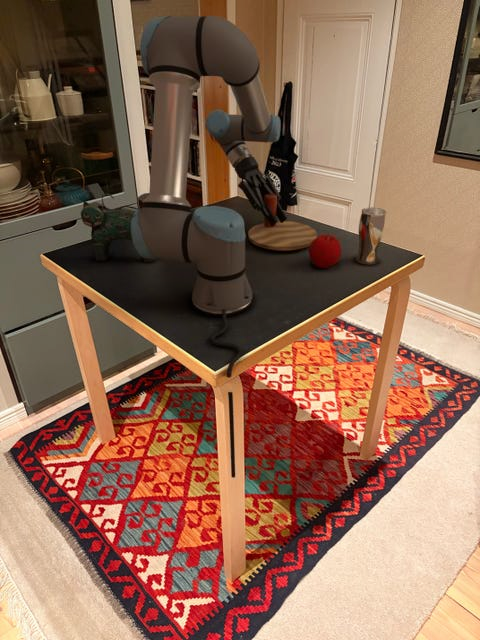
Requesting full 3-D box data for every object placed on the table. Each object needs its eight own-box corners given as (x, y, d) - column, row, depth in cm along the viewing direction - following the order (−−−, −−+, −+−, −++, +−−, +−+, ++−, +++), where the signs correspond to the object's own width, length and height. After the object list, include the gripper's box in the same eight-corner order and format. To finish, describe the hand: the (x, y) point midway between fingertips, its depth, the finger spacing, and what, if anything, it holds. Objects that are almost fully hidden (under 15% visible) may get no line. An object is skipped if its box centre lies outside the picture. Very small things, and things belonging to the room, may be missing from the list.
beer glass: (365, 253, 141) (372, 205, 133) (383, 261, 136) (392, 211, 128) (349, 259, 138) (355, 210, 130) (367, 267, 133) (375, 217, 125)
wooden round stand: (330, 242, 146) (333, 207, 140) (269, 255, 138) (270, 219, 132) (293, 220, 162) (294, 188, 156) (236, 231, 154) (236, 198, 148)
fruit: (335, 274, 130) (338, 240, 124) (304, 268, 133) (306, 235, 128) (343, 261, 137) (346, 228, 132) (313, 256, 140) (316, 224, 135)
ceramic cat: (89, 262, 139) (75, 195, 128) (97, 253, 144) (84, 189, 133) (153, 264, 137) (145, 197, 126) (159, 255, 142) (152, 190, 131)
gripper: (230, 159, 145) (268, 223, 144) (267, 151, 155) (302, 210, 154) (219, 173, 151) (255, 235, 150) (255, 164, 161) (289, 221, 160)
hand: (279, 222), depth 152 cm, fingers closed on wooden round stand, 4 cm apart
